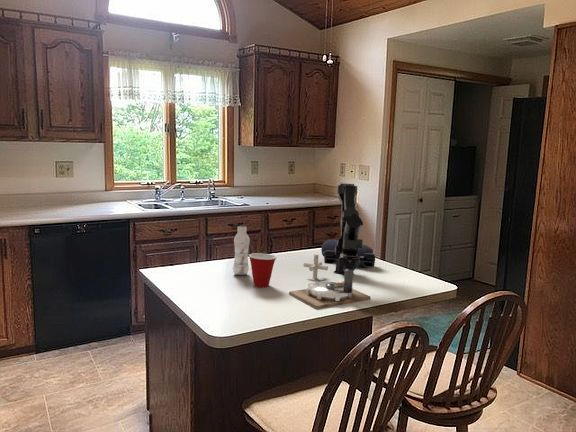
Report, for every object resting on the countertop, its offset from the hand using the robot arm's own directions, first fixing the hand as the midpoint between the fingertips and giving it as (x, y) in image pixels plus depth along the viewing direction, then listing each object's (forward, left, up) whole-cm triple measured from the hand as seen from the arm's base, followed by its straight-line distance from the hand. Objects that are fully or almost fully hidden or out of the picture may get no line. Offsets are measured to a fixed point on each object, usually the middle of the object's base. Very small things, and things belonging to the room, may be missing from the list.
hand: (348, 278), depth 175 cm
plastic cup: (-32, -10, -7) cm, 34 cm away
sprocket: (-5, -5, -5) cm, 9 cm away
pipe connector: (-21, +12, -7) cm, 25 cm away
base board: (-5, -5, -7) cm, 9 cm away
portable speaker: (-22, +45, -7) cm, 50 cm away
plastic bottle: (-47, -4, -7) cm, 47 cm away
